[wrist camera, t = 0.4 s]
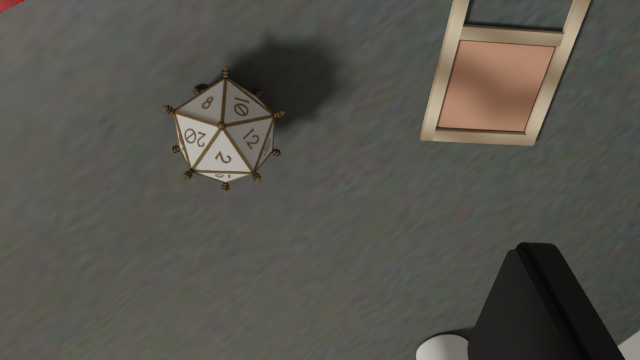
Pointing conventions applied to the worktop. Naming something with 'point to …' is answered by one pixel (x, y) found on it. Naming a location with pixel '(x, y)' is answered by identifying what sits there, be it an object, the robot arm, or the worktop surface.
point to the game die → (224, 131)
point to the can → (443, 348)
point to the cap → (8, 4)
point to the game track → (496, 79)
